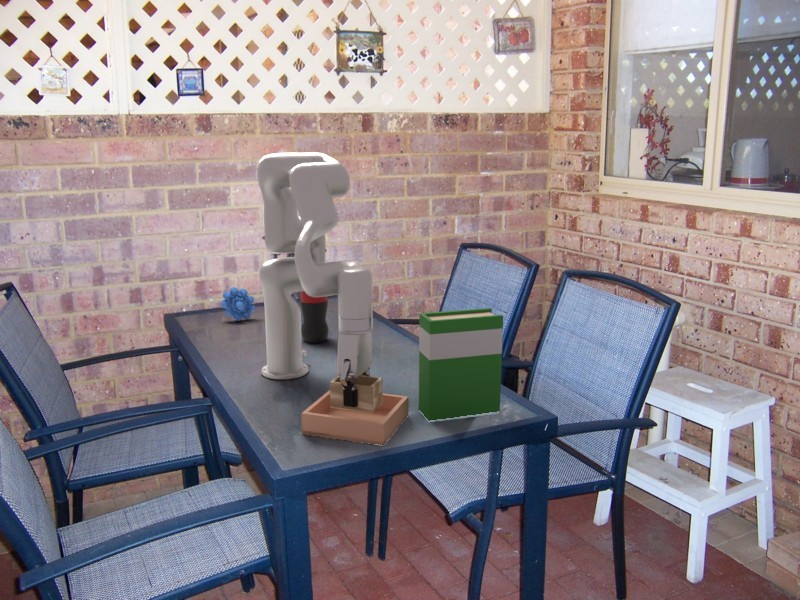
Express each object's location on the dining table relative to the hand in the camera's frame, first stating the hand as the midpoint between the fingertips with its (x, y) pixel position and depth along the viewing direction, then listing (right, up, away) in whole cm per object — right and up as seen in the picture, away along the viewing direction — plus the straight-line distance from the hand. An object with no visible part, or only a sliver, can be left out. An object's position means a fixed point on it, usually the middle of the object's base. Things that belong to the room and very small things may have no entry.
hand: (356, 399), depth 165 cm
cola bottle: (-17, +9, +66) cm, 68 cm away
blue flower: (-45, +15, +87) cm, 99 cm away
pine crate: (0, -1, 0) cm, 1 cm away
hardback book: (+24, -4, +9) cm, 26 cm away
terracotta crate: (0, -6, +2) cm, 6 cm away
